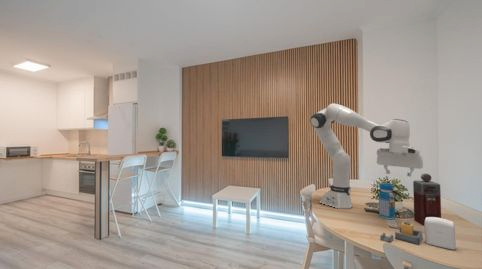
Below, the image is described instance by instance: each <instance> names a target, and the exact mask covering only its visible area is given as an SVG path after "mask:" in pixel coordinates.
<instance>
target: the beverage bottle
mask: <svg viewBox="0 0 482 269" xmlns="http://www.w3.org/2000/svg"><path fill="white" fill-rule="evenodd" d="M379 189H380V191H379V193H378V196H379V197H378V210H379V211H378V213H379V214H378V216H379V217H380V218H382V219H386V220H395V218H396V199H395V197H396V196H395V194H394V192H393V191H394V185H393V184H391V183H380V184H379Z"/></svg>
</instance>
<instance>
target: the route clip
mask: <svg viewBox="0 0 482 269" xmlns="http://www.w3.org/2000/svg"><path fill="white" fill-rule="evenodd" d="M393 240H394V235H393V234H390V236H386V233H385V232H383V233H381V235H380V241H382V242H386V243H389V244H391V243H392V242H393Z"/></svg>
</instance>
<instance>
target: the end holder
mask: <svg viewBox="0 0 482 269" xmlns="http://www.w3.org/2000/svg"><path fill="white" fill-rule="evenodd" d="M423 235H424V234H423V231H420V230H416V229H413V236H410V235H406V234H402V233H401V226H399V232H398V231H395V232H394V236H395V237H394V238H395V240H398V241H401V242H402V241H403V242H406V243H408V244H409V243H410V244H412V245H413V244H414V245H417V246H420V244H421V243H422V241H423V238H424V237H423Z"/></svg>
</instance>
